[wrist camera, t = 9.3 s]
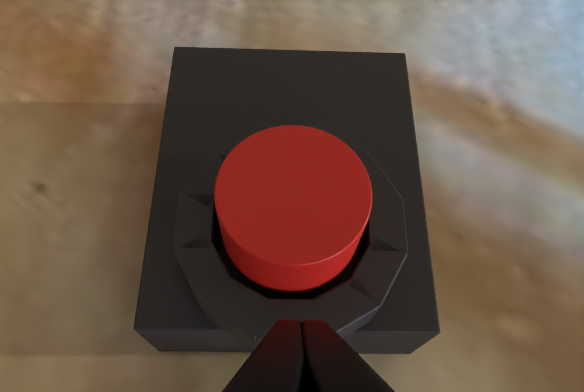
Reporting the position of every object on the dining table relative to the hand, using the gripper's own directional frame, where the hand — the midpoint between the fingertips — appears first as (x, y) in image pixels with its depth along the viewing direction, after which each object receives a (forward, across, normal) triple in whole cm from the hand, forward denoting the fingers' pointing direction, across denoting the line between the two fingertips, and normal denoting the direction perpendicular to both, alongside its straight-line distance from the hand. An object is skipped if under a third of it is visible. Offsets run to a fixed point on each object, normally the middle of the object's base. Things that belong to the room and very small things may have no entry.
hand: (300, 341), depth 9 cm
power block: (+13, 0, +3) cm, 14 cm away
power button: (+7, 0, +1) cm, 7 cm away
